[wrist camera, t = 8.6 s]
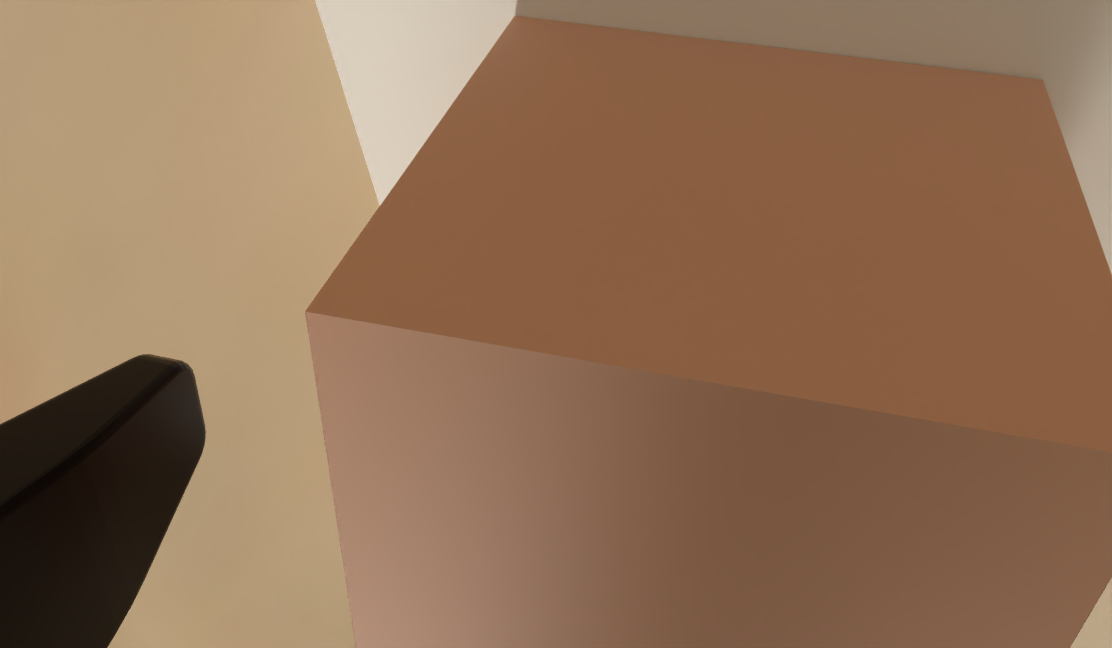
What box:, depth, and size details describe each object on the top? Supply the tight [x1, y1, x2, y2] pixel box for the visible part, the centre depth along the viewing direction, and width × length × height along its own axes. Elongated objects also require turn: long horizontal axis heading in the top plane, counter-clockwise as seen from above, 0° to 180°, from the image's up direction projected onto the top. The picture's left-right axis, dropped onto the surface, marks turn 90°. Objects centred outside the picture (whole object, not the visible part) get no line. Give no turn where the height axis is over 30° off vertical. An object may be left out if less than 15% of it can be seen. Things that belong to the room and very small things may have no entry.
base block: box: [315, 0, 1112, 274], centre depth 13 cm, size 8×8×4 cm
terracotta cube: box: [305, 16, 1112, 648], centre depth 9 cm, size 5×5×5 cm
